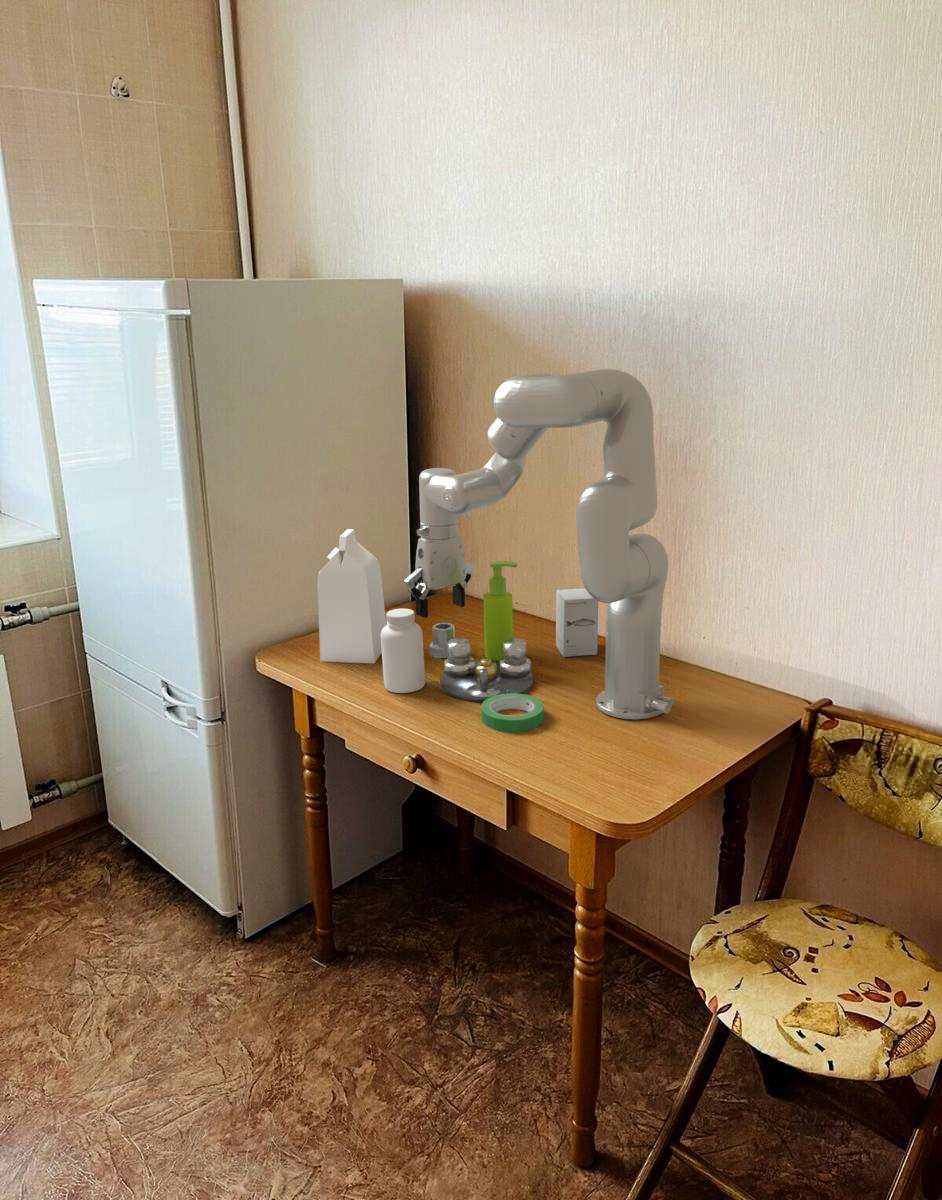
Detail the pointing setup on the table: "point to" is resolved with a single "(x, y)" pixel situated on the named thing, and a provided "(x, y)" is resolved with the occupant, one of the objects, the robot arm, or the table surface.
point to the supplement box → (576, 622)
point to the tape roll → (512, 722)
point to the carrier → (485, 672)
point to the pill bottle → (402, 652)
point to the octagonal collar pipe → (441, 639)
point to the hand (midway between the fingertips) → (440, 610)
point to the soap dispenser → (497, 613)
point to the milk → (350, 604)
